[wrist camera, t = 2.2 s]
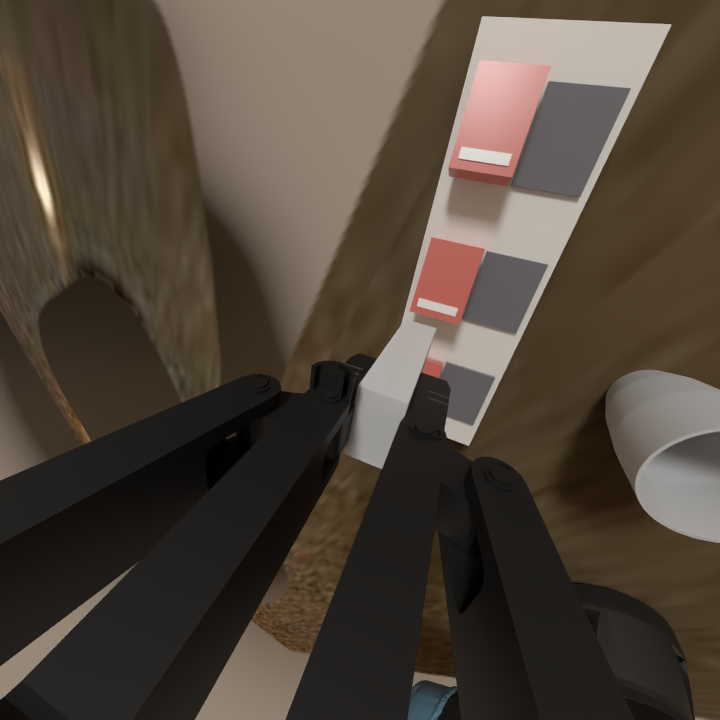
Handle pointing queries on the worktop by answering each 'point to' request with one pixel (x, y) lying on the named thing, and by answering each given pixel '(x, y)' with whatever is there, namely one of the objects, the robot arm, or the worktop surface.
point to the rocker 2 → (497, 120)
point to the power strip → (529, 190)
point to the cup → (669, 448)
